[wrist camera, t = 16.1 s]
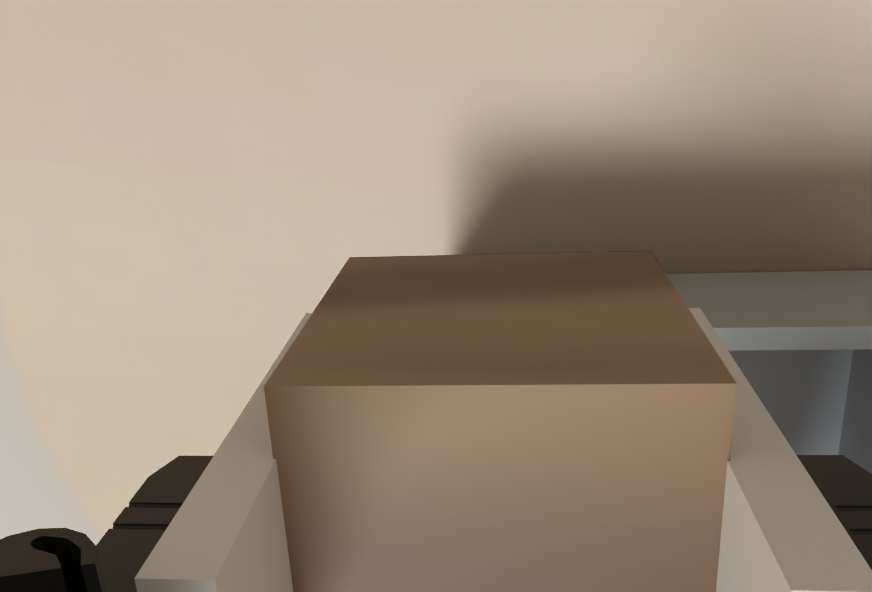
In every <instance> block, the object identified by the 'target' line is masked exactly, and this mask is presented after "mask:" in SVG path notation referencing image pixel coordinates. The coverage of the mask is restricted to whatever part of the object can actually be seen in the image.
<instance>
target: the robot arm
mask: <svg viewBox="0 0 872 592" xmlns="http://www.w3.org/2000/svg"><path fill="white" fill-rule="evenodd" d="M688 309H689V310H690V312H691V313H692V315H693V317H694V318H695V320H696V321H697V323H698V324H699V326H700V327H701V329H702V330H703V332H704V333H705V335H706V337H707V338H708V340H709V341H710V343H711V344H712V346H713V347H714V349H715V350H716V352H717V354H718V355H719V357H720V358H721V360H722V361H723V363H724V364H725V366H726V367H727V369H728V371H729V372H730V374H731V375H732V377H733V378H734V380H735V381H736V383H737V388H736V400H735V411H734V423H733V434H732V446H731V457H730V461H727V471H726V482H725V494H724V505H723V517H722V528H721V540H720V551H719V563H718V574H717V585H716V592H872V474H871V473H870V472H868V471H867V470H865V469H863V468H862V467H860V466H859V465H857V464H856V463H854V462H853V461H851V460H850V459H848V458H847V457H845V456H843V455H796V454H795V452H794V451H793V449H792V448H791V446H790V445H789V443H788V442H787V440H786V438H785V437H784V435H783V434H782V432H781V431H780V429H779V428H778V426H777V425H776V423H775V422H774V420H773V419H772V417H771V416H770V414H769V413H768V411H767V409H766V408H765V406H764V405H763V403H762V402H761V400H760V399H759V397H758V396H757V394H756V393H755V391H754V390H753V388H752V387H751V385H750V384H749V382H748V380H747V379H746V377H745V376H744V374H743V373H742V371H741V370H740V368H739V367H738V365H737V364H736V362H735V361H734V359H733V358H732V356H731V354H730V353H729V351H728V350H727V348H726V347H725V345H724V344H723V342H722V341H721V339H720V338H719V336H718V335H717V333H716V332H715V330H714V329H713V327H712V325H711V324H710V322H709V321H708V319H707V318H706V316H705V315H704V313H703V312H702V310H701V309H700V308H688ZM311 315H312V313H306V314H305V316H304V317H303V319H302V321H301V322H300V324H299V325H298V327H297V328H296V330H295V331H294V333H293V334H292V336H291V338H290V339H289V341H288V342H287V344H286V345H285V347H284V348H283V350H282V351H281V353H280V354H279V356H278V358H277V359H276V361H275V362H274V364H273V365H272V367H271V368H270V370H269V371H268V373H267V375H266V376H265V378H264V379H263V381H262V382H261V384H260V385H259V387H258V388H257V390H256V392H255V393H254V395H253V396H252V398H251V399H250V401H249V402H248V404H247V405H246V407H245V408H244V410H243V412H242V413H241V415H240V416H239V418H238V419H237V421H236V422H235V424H234V425H233V427H232V429H231V430H230V432H229V433H228V435H227V436H226V438H225V439H224V441H223V442H222V444H221V446H220V447H219V449H218V450H217V452H216V453H215V455H214V456H178V457H177V458H175V459H174V460H172V461H171V462H170V463H168V464H167V465H165V466H164V467H162V468H161V469H159V470H158V471H157V472H155V473H154V474H152V475H151V476H149V477H148V478H147V480H146V481H145V482H144V484H143V485H142V486H141V487H140V489H139V490H138V491H137V493H136V494H135V495H134V497H133V498H132V499H131V501H130V502H129V507H125V509H124V510H123V511H122V513H121V514H120V515H119V516H118V518H117V519H116V520H115V522H114V523H113V529H109V530H108V531H107V532H106V534H105V535H104V536H103V538H102V539H101V540H100V542H99V543H98V544H97V545H96V546H95V545H94V543H93V542H92V541H91V540H90V539H89V538H88V537H87V535H86V534H83V533H80V532H77V531H74V530H70V529H67V528H49V529H36V530H32V531H27V532H23V533H19V534H15V535H11V536H8V537H5V538H3V539H1V540H0V592H293V586H292V578H291V570H290V562H289V555H288V547H287V539H286V531H285V523H284V516H283V508H282V500H281V492H280V484H279V477H278V469H277V461H276V459H273V454H272V446H271V438H270V431H269V423H268V416H267V408H266V400H265V393H264V385H265V384H266V382H267V381H268V379H269V378H270V376H271V375H272V373H273V372H274V370H275V369H276V367H277V366H278V364H279V363H280V361H281V360H282V358H283V357H284V355H285V354H286V352H287V351H288V349H289V348H290V346H291V345H292V343H293V342H294V340H295V339H296V337H297V336H298V334H299V333H300V331H301V330H302V328H303V327H304V325H305V324H306V322H307V321H308V319H309V318H310V316H311Z"/></svg>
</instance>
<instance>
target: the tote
mask: <svg viewBox="0 0 872 592" xmlns="http://www.w3.org/2000/svg"><path fill="white" fill-rule="evenodd" d="M666 275H667V276H668V278H669V279H670V281H671V283H672V284H673V286H674V287H675V289H676V290H677V292H678V293H679V295H680V296H681V298H682V300H683V301H684V303H685V304H686V306H687V307H688V308H700V309H701V310H702V312H703V313H704V315H705V316H706V318H707V319H708V321H709V322H710V324H711V325H712V327H713V329H714V330H715V332H716V333H717V335H718V336H719V338H720V339H721V341H722V342H723V344H724V345H725V347H726V348H727V350H728V351H729V353H730V354H731V356H732V358H733V359H734V361H735V362H736V364H737V365H738V367H739V368H740V370H741V371H742V373H743V374H744V376H745V377H746V379H747V380H748V382H749V384H750V385H751V387H752V388H753V390H754V391H755V393H756V394H757V396H758V397H759V399H760V400H761V402H762V403H763V405H764V406H765V408H766V409H767V411H768V413H769V414H770V416H771V417H772V419H773V420H774V422H775V423H776V425H777V426H778V428H779V429H780V431H781V432H782V434H783V435H784V437H785V438H786V440H787V442H788V443H789V445H790V446H791V448H792V449H793V451H794V452H795V454H796V455H843V456H845V457H847V458H848V459H850V460H851V461H853V462H854V463H856V464H857V465H859V466H860V467H862V468H863V469H865V470H867V471H868V472H870V473H871V474H872V270H840V271H786V272H732V273H678V274H666Z"/></svg>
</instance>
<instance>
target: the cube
mask: <svg viewBox="0 0 872 592" xmlns="http://www.w3.org/2000/svg"><path fill="white" fill-rule="evenodd" d="M736 388H737V383H736V381H735V380H734V378H733V377H732V375H731V374H730V372H729V371H728V369H727V367H726V366H725V364H724V363H723V361H722V360H721V358H720V357H719V355H718V354H717V352H716V350H715V349H714V347H713V346H712V344H711V343H710V341H709V340H708V338H707V337H706V335H705V333H704V332H703V330H702V329H701V327H700V326H699V324H698V323H697V321H696V320H695V318H694V317H693V315H692V313H691V312H690V310H689V309H688V307H687V306H686V304H685V303H684V301H683V300H682V298H681V296H680V295H679V293H678V292H677V290H676V289H675V287H674V286H673V284H672V283H671V281H670V279H669V278H668V276H667V275H666V273H665V272H664V270H663V269H662V267H661V266H660V264H659V262H658V261H657V259H656V258H655V256H654V255H653V253H652V252H651V251H619V252H573V253H528V254H483V255H438V256H393V257H350V258H349V259H348V261H347V262H346V264H345V265H344V267H343V268H342V270H341V271H340V273H339V274H338V276H337V277H336V279H335V280H334V282H333V283H332V285H331V286H330V288H329V289H328V291H327V292H326V294H325V295H324V297H323V298H322V300H321V301H320V303H319V304H318V306H317V307H316V309H315V310H314V312H313V313H312V315H311V316H310V318H309V319H308V321H307V322H306V324H305V325H304V327H303V328H302V330H301V331H300V333H299V334H298V336H297V337H296V339H295V340H294V342H293V343H292V345H291V346H290V348H289V349H288V351H287V352H286V354H285V355H284V357H283V358H282V360H281V361H280V363H279V364H278V366H277V367H276V369H275V370H274V372H273V373H272V375H271V376H270V378H269V379H268V381H267V382H266V384H265V385H264V393H265V400H266V408H267V416H268V423H269V431H270V438H271V446H272V454H273V459H276V461H277V469H278V477H279V484H280V492H281V500H282V508H283V516H284V523H285V531H286V539H287V547H288V555H289V562H290V570H291V578H292V586H293V592H716V585H717V574H718V563H719V551H720V540H721V528H722V517H723V505H724V494H725V482H726V471H727V461H730V457H731V446H732V434H733V423H734V411H735V400H736Z"/></svg>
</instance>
